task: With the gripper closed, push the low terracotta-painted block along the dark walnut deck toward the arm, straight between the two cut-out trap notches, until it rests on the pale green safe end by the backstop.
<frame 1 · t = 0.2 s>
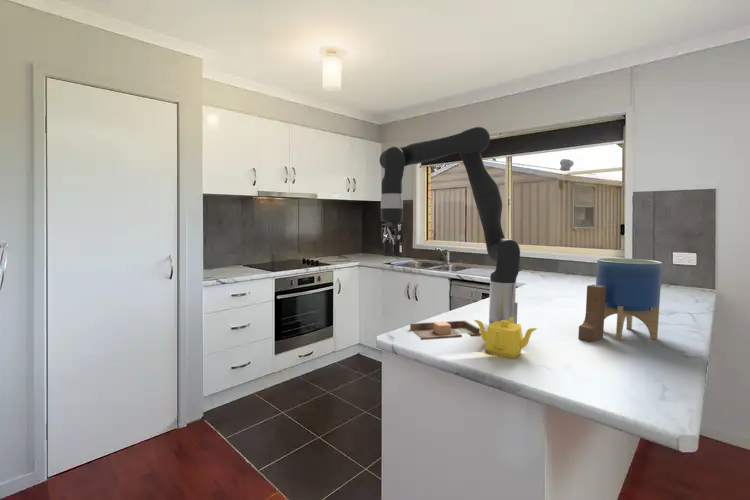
hand: (391, 254, 135), 28 cm above the worktop, fingers open, 8 cm apart
block: (442, 332, 134), point 1 cm above the worktop, touching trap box
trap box: (443, 336, 134), on the worktop
planter: (624, 334, 139), on the worktop
wooden block: (590, 338, 134), on the worktop
teapot: (503, 352, 120), on the worktop
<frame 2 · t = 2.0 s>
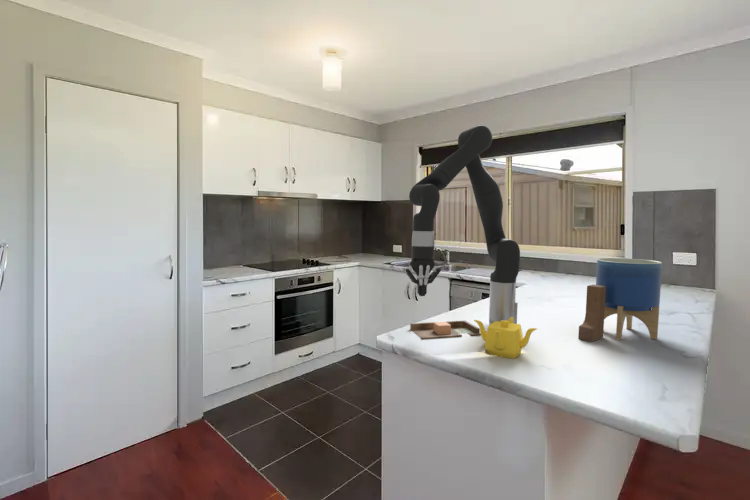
hand: (421, 295, 132), 15 cm above the worktop, fingers closed
nothing on the worktop moved.
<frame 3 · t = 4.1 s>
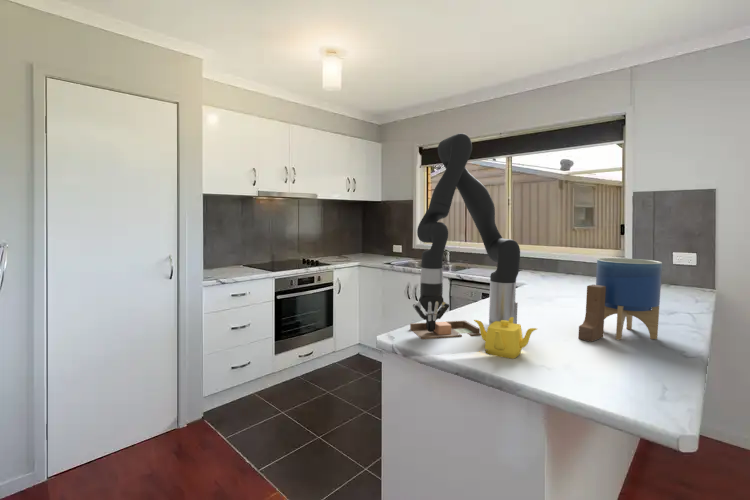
hand: (430, 331, 133), 2 cm above the worktop, fingers closed
block: (442, 332, 134), point 2 cm above the worktop, touching gripper, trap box
everything else where it was.
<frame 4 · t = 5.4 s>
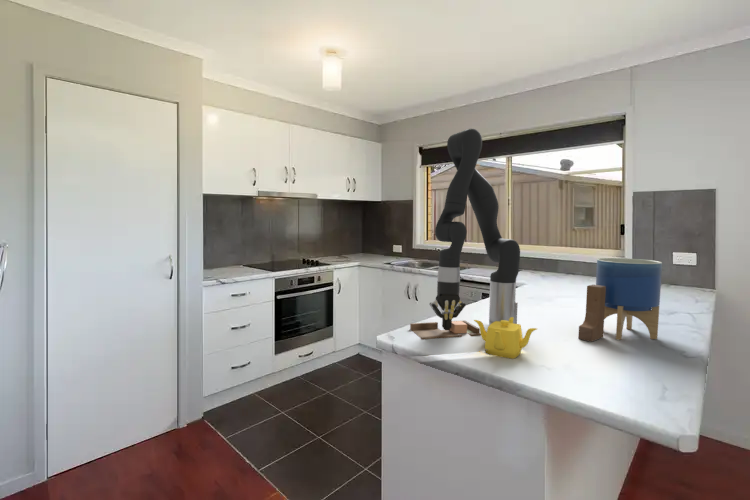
hand: (446, 329, 134), 2 cm above the worktop, fingers closed
block: (457, 331, 135), point 2 cm above the worktop, touching gripper, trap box
everything else where it was.
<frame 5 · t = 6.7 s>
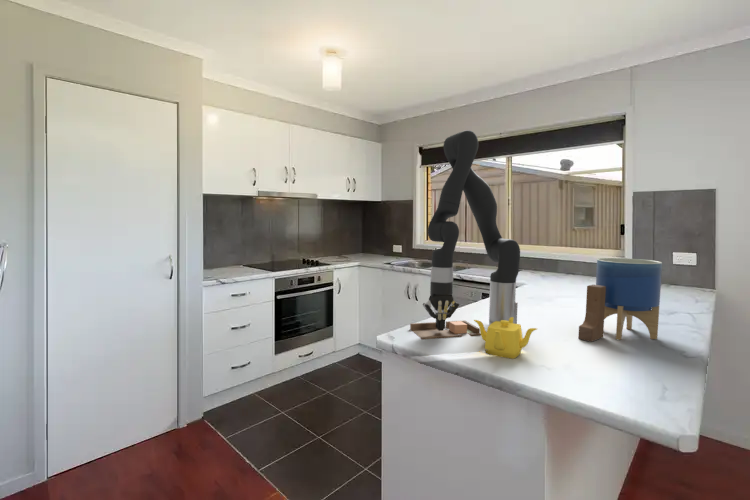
hand: (440, 330, 134), 2 cm above the worktop, fingers closed
block: (457, 331, 135), point 1 cm above the worktop, touching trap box
everything else where it was.
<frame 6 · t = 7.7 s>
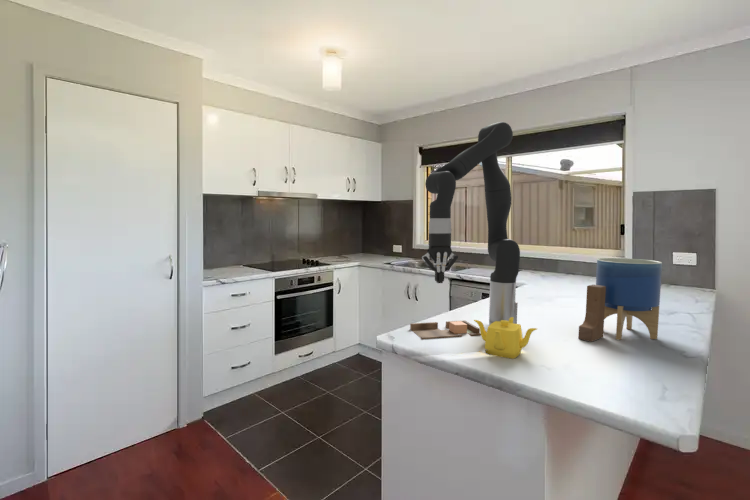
hand: (439, 282, 133), 19 cm above the worktop, fingers closed
nothing on the worktop moved.
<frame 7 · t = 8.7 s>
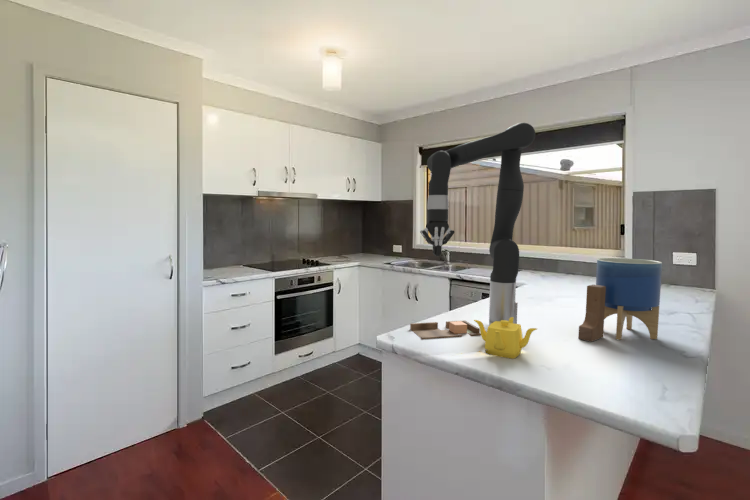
hand: (436, 256, 142), 27 cm above the worktop, fingers closed
nothing on the worktop moved.
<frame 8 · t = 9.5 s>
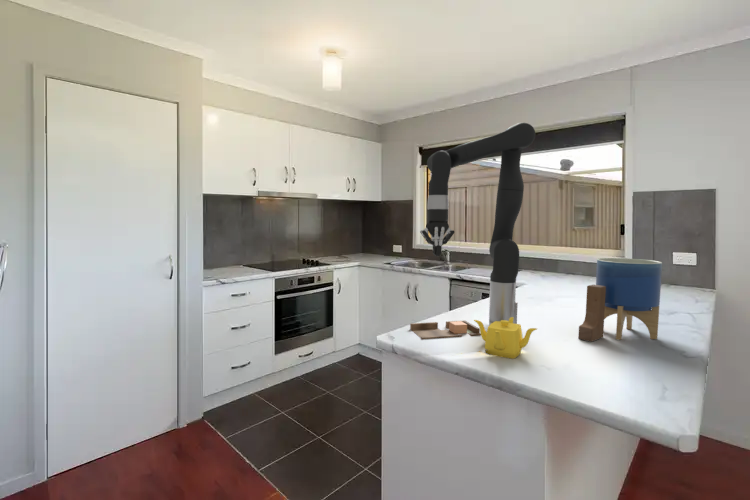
hand: (436, 256, 142), 27 cm above the worktop, fingers closed
nothing on the worktop moved.
at the end: block 2.2 cm from the target spot on the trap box, point 1.5 cm above the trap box's base; block tilted 0° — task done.
